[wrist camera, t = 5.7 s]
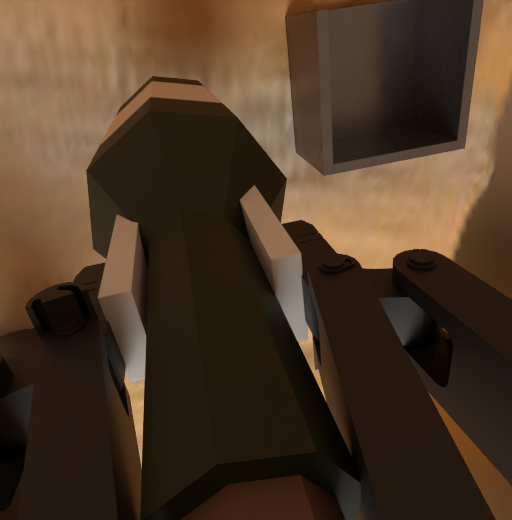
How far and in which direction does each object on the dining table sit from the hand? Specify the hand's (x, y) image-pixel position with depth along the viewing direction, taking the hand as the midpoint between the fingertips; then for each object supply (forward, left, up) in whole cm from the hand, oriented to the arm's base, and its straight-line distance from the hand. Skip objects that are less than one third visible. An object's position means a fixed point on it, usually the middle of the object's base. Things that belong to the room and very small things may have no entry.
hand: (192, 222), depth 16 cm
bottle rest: (+17, +1, -24) cm, 30 cm away
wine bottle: (0, 0, -18) cm, 18 cm away
